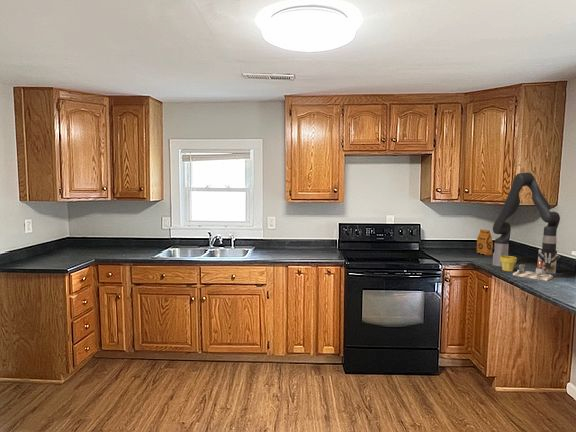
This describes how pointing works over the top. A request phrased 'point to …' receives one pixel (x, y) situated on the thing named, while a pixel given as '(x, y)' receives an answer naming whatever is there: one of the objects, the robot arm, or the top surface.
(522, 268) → the beige wooden board
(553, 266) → the coffee box
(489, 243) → the coffee package
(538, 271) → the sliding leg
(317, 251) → the top surface
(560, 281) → the top surface
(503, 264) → the plant pot
